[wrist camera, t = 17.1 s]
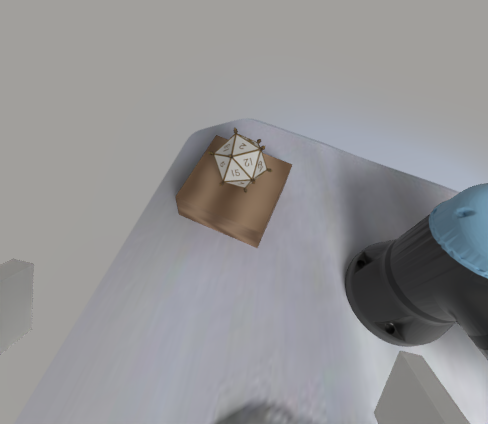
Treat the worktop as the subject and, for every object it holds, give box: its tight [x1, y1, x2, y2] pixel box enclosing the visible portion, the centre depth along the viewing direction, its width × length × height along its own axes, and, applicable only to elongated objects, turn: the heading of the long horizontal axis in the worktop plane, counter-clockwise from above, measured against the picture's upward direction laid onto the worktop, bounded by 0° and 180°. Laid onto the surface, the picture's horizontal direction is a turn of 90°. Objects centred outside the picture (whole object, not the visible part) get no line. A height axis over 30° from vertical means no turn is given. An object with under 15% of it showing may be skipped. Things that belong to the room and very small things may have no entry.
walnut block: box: [176, 135, 292, 248], centre depth 49 cm, size 14×14×6 cm
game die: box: [208, 128, 272, 193], centre depth 43 cm, size 9×8×10 cm
